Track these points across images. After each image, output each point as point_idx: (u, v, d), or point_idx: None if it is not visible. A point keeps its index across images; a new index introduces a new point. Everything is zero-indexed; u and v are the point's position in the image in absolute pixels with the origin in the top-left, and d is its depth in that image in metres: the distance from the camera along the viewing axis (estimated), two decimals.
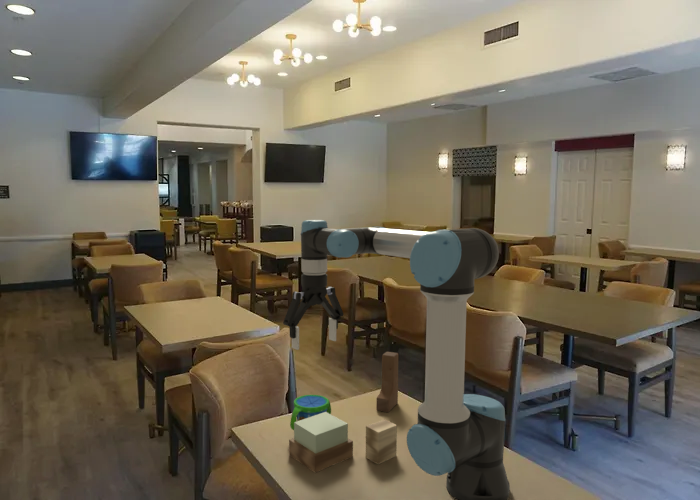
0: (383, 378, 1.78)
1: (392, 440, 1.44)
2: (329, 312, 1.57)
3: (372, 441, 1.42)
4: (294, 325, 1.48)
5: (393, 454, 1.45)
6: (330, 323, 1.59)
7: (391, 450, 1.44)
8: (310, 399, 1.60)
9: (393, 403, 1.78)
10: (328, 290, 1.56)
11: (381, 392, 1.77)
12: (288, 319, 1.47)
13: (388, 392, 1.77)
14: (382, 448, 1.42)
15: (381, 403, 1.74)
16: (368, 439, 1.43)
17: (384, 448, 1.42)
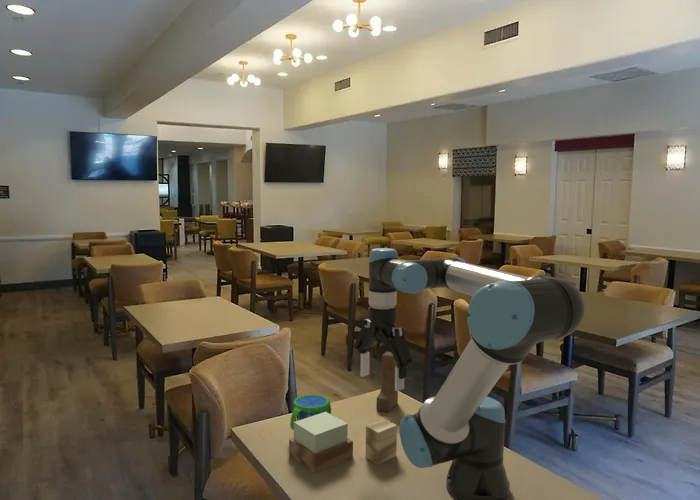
0: (383, 378, 1.78)
1: (392, 440, 1.44)
2: None
3: (372, 441, 1.42)
4: (359, 350, 1.47)
5: (393, 454, 1.45)
6: None
7: (391, 450, 1.44)
8: (310, 399, 1.60)
9: (393, 403, 1.78)
10: (394, 330, 1.37)
11: (381, 392, 1.77)
12: None
13: (388, 392, 1.77)
14: (382, 448, 1.42)
15: (381, 403, 1.74)
16: (368, 439, 1.43)
17: (384, 448, 1.42)
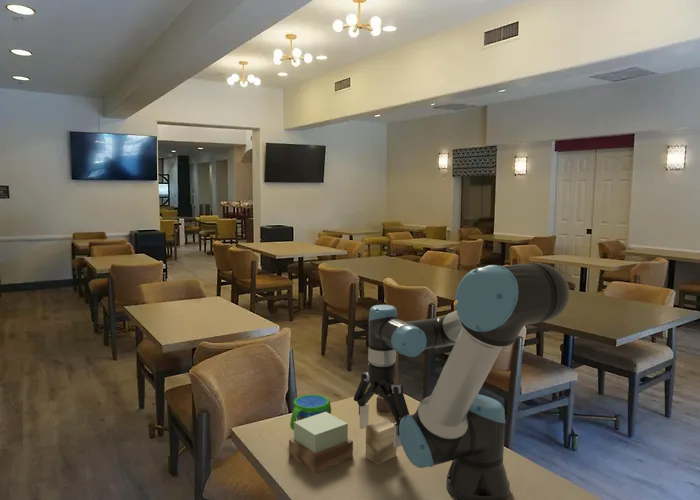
0: None
1: (392, 440, 1.44)
2: None
3: (372, 441, 1.42)
4: (358, 403, 1.49)
5: (393, 454, 1.45)
6: None
7: (391, 450, 1.44)
8: (310, 399, 1.60)
9: None
10: (393, 387, 1.39)
11: None
12: None
13: None
14: (382, 448, 1.42)
15: (381, 403, 1.74)
16: (368, 439, 1.43)
17: (384, 448, 1.42)
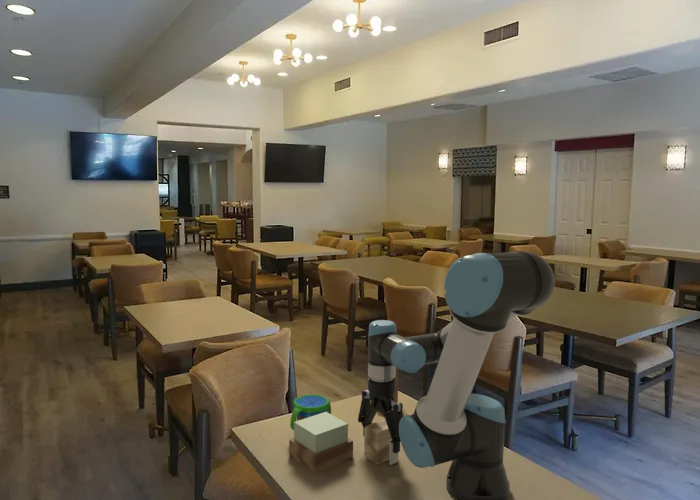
0: None
1: None
2: None
3: (372, 441, 1.42)
4: (362, 424, 1.48)
5: None
6: None
7: None
8: (310, 399, 1.60)
9: None
10: (393, 404, 1.39)
11: None
12: None
13: None
14: (382, 448, 1.42)
15: None
16: (368, 439, 1.43)
17: (384, 448, 1.42)
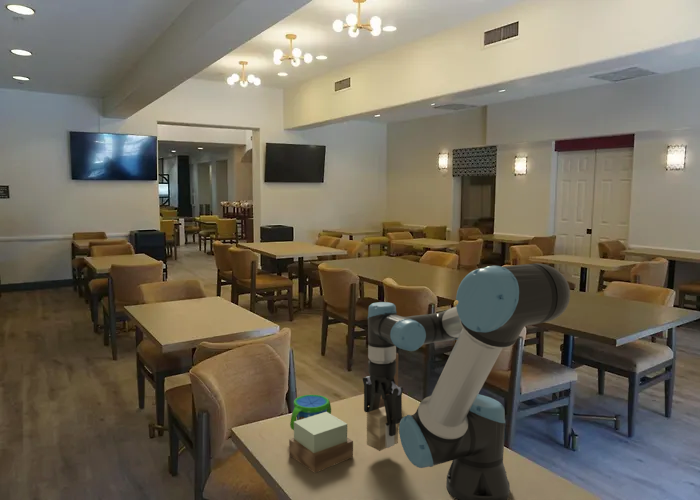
0: None
1: None
2: None
3: (373, 428, 1.41)
4: None
5: (395, 441, 1.44)
6: None
7: None
8: (310, 399, 1.60)
9: None
10: (393, 387, 1.39)
11: None
12: None
13: None
14: (383, 434, 1.41)
15: (381, 403, 1.74)
16: (369, 426, 1.42)
17: None
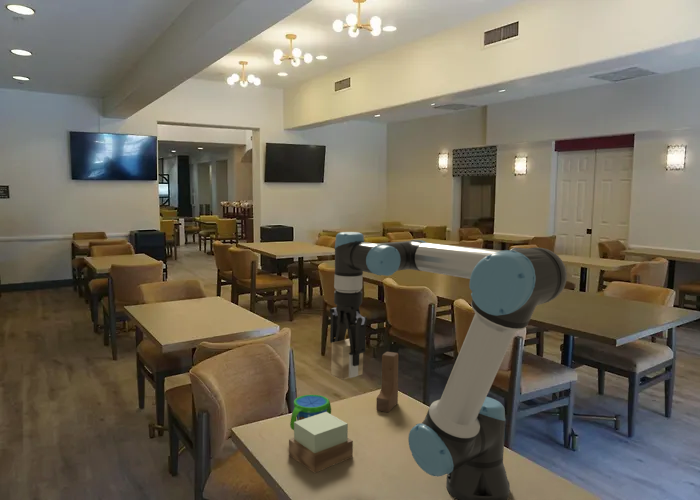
0: (383, 378, 1.78)
1: None
2: None
3: (337, 357, 1.40)
4: None
5: (359, 372, 1.43)
6: None
7: None
8: (310, 399, 1.60)
9: (393, 403, 1.78)
10: (357, 317, 1.37)
11: (381, 392, 1.77)
12: None
13: (388, 392, 1.77)
14: (347, 364, 1.40)
15: (381, 403, 1.74)
16: (333, 355, 1.42)
17: None
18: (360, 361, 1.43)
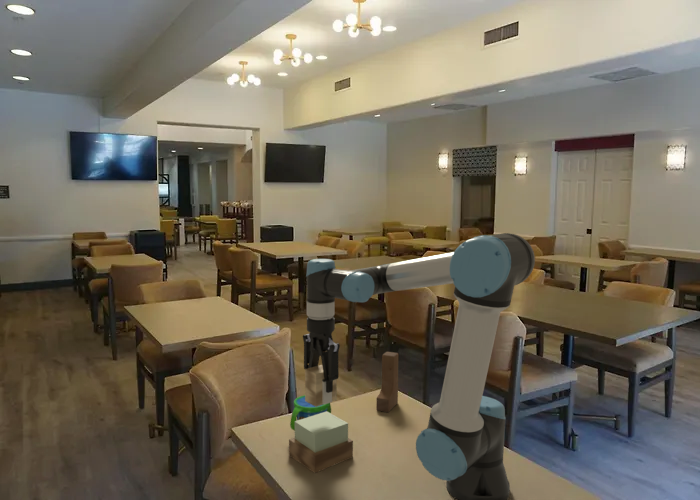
0: (383, 378, 1.78)
1: None
2: None
3: (310, 384, 1.41)
4: None
5: (333, 398, 1.43)
6: None
7: None
8: None
9: (393, 403, 1.78)
10: (330, 344, 1.38)
11: (381, 392, 1.77)
12: None
13: (388, 392, 1.77)
14: (321, 390, 1.40)
15: (381, 403, 1.74)
16: (307, 382, 1.42)
17: None
18: (334, 387, 1.43)
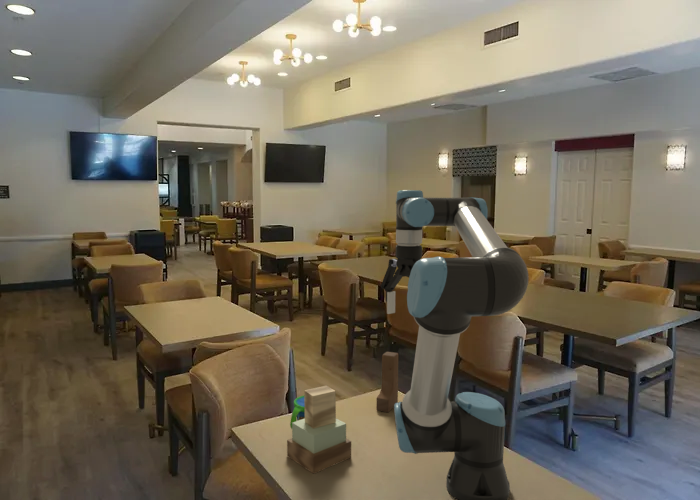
0: (383, 378, 1.78)
1: (330, 405, 1.43)
2: None
3: (308, 405, 1.42)
4: (385, 289, 1.56)
5: (332, 420, 1.43)
6: None
7: (329, 416, 1.43)
8: None
9: (393, 403, 1.78)
10: None
11: (381, 392, 1.77)
12: None
13: (388, 392, 1.77)
14: (318, 412, 1.41)
15: (381, 403, 1.74)
16: (306, 403, 1.43)
17: (320, 412, 1.41)
18: (332, 409, 1.43)
